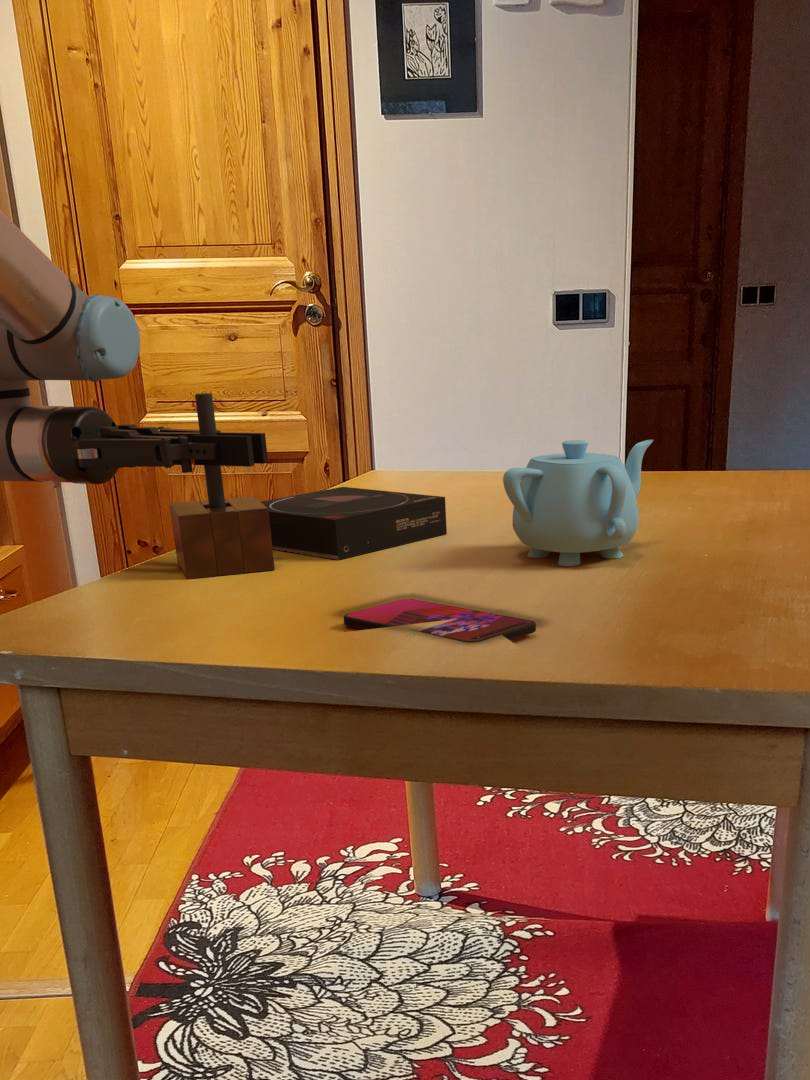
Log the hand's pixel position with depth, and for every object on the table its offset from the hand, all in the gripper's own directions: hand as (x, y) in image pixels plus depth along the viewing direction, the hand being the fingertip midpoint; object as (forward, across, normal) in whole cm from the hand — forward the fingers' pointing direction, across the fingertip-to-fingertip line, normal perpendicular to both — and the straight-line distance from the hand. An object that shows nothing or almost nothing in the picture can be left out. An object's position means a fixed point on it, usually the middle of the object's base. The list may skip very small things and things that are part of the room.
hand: (257, 449), depth 111 cm
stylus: (-6, 0, -11) cm, 12 cm away
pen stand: (-6, 0, -11) cm, 13 cm away
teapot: (+27, -16, -12) cm, 33 cm away
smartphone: (+27, +16, -12) cm, 33 cm away
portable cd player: (-2, -16, -12) cm, 20 cm away
